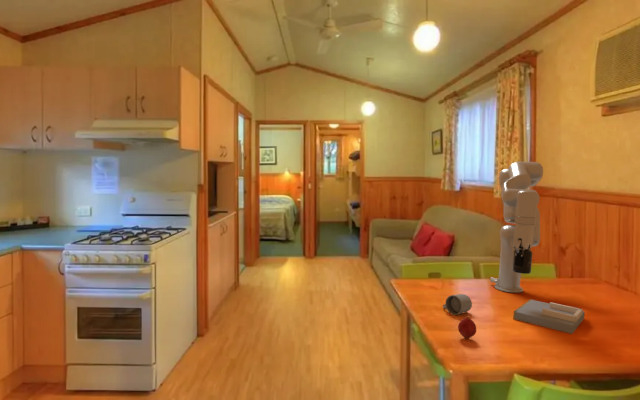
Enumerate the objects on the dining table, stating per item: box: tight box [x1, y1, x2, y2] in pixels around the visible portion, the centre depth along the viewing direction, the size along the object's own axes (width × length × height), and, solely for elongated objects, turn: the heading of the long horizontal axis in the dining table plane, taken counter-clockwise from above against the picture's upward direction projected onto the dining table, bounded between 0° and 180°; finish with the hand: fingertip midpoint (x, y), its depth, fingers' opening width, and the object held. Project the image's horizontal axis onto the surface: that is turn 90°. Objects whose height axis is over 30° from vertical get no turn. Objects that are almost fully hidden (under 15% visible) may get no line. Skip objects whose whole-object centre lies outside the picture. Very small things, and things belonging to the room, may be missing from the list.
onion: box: [457, 315, 477, 340], centre depth 140 cm, size 6×6×8 cm
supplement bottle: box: [513, 244, 533, 275], centre depth 169 cm, size 7×7×12 cm
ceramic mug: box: [442, 293, 473, 316], centre depth 167 cm, size 11×8×8 cm
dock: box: [513, 299, 585, 335], centre depth 163 cm, size 20×22×5 cm
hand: (522, 264), depth 169 cm, fingers closed on supplement bottle, 6 cm apart
